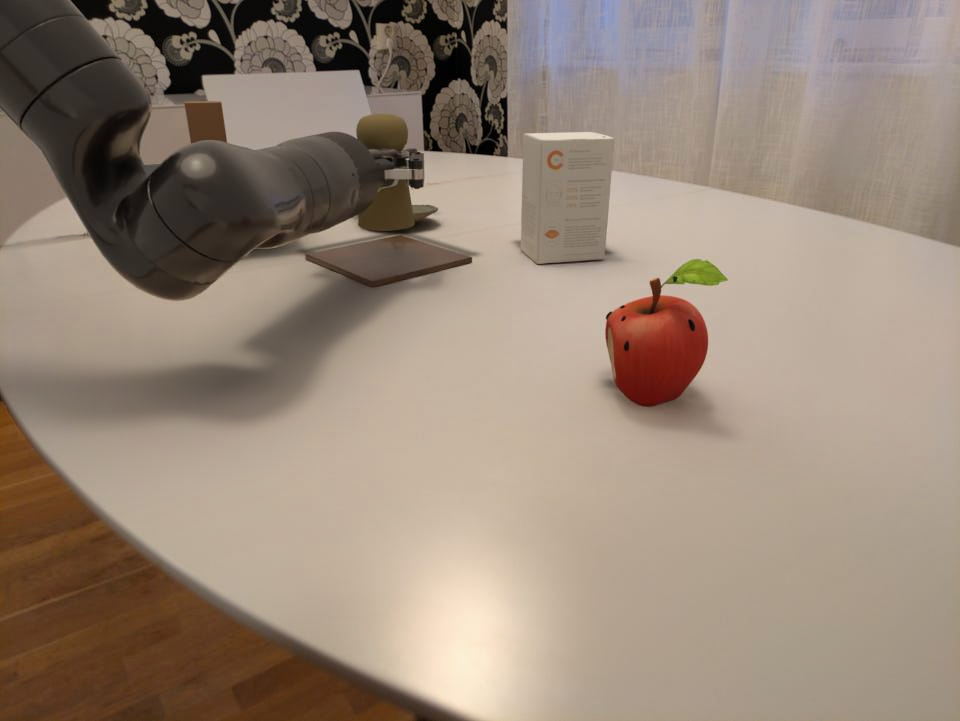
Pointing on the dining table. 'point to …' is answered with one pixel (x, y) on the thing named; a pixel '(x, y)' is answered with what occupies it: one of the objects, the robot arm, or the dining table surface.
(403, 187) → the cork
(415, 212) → the lid
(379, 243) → the board
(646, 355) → the apple
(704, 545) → the dining table surface
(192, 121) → the bin lid
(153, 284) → the robot arm
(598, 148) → the small box
